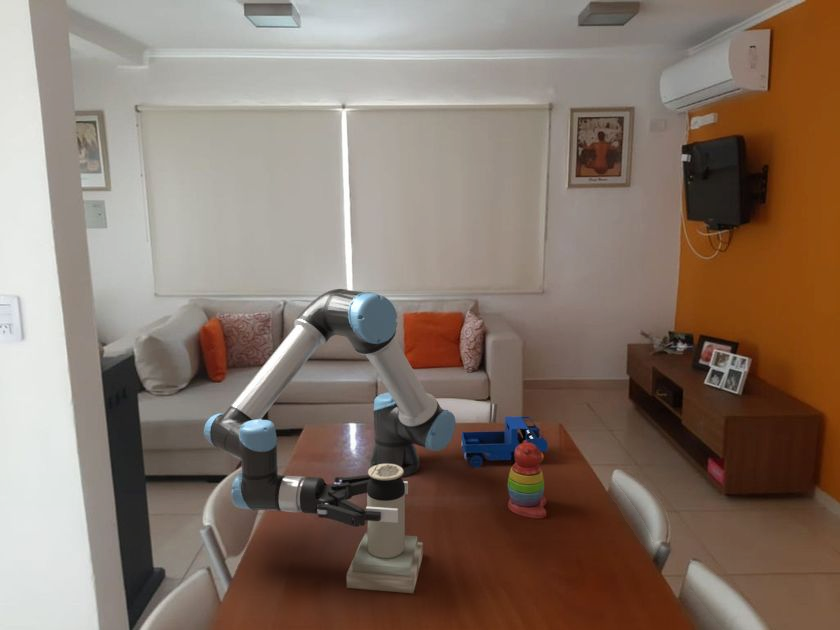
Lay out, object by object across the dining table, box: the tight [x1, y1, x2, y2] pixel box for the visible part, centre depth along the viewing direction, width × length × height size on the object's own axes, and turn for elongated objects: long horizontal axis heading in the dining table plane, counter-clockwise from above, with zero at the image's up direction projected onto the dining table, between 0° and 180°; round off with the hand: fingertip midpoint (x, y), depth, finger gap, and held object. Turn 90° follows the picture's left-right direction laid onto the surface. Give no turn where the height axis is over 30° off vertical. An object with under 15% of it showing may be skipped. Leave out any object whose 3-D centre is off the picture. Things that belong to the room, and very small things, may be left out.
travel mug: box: [366, 464, 406, 558], centre depth 129 cm, size 8×8×18 cm
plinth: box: [345, 532, 424, 594], centre depth 131 cm, size 14×14×5 cm
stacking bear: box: [507, 440, 547, 520], centre depth 156 cm, size 11×10×18 cm
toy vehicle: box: [461, 415, 549, 468], centre depth 187 cm, size 25×12×12 cm, turn 92°
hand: (403, 501), depth 127 cm, fingers open, 11 cm apart
